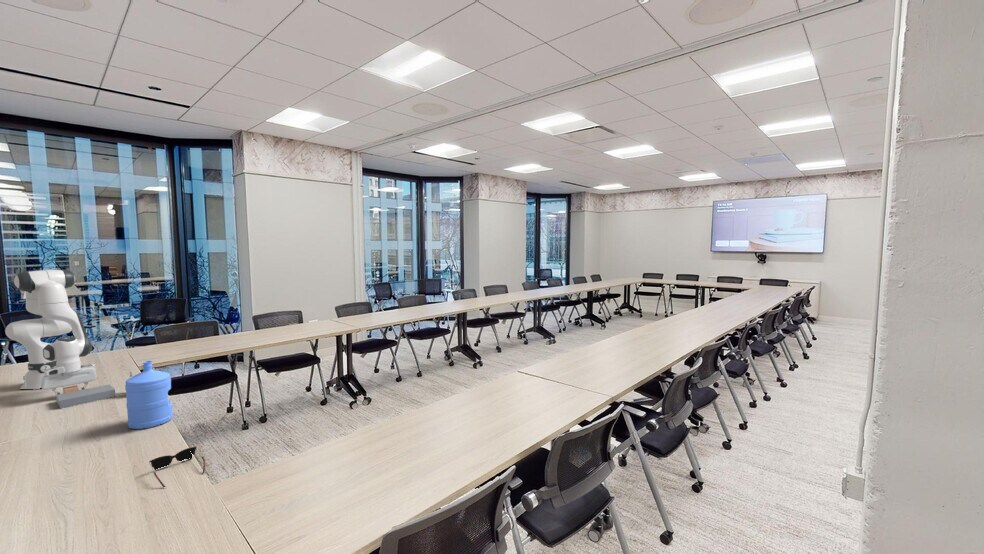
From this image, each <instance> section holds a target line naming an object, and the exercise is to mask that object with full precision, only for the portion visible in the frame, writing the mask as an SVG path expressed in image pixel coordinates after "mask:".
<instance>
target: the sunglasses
mask: <svg viewBox="0 0 984 554" xmlns="http://www.w3.org/2000/svg"><path fill="white" fill-rule="evenodd" d="M190 451H191V452H190ZM196 451H197V452H198V454H199V455H200V457H201V459H202V460H203V469H202V473H203V472H204V473H205V469H206V459H205V457H204V456H203V455H202V453H201V452H200V451H199V449H198V447H197V446H192V447H189V448H185V449H183V450H180V451H178V452H177V453H175V454H174V455H171V454H170V455H162V456H159V457H155V458H153V459H151V460H149V461H148V463H149V465H150V467H151V469H152V472H153V475H154V477H155V478H156V479H157V481H158V482H159V483H160V485H161V487H162V488H163V487H166V485H165V484H164V483H163V482H162V480H161V479H160V478H159V476H158V475H157V472H155V471H156V469H158V468H161V467H164V466H167V465H169V466H170V465H171V464H172V463H173V462H172V461H173V459H174V458H175V460H177V461H178V462H179V461H182V460H184V459H189V458H190V459H191V460H192V459H193V458H192V454H193V455H196ZM191 453H192V454H191Z"/></svg>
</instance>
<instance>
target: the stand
mask: <svg viewBox="0 0 984 554" xmlns="http://www.w3.org/2000/svg"><path fill="white" fill-rule="evenodd" d="M78 390H79V391H73V392H68V393H60V394H58V395H55V402H56V403H55V404H57V406H58V407H59V409H60V410H61V408H62V409H65V408H71V407H74V405H75V406H80V405H83V404H87V403H88V402H89V403H94V402H98V401H102V400H101V399H103V400H106V399H105V398H107V399H110V397H112V398H115V397H116V389H115V388H114V387H113V386H112V385H111V384H103V385H101V386H100V385H99V386H95V387H94V386H93V387H89V388H86V389H84V390H81V389H78ZM114 396H115V397H114ZM97 400H98V401H97ZM93 401H94V402H93ZM89 403H88V404H89ZM79 404H80V405H79ZM70 406H71V407H70Z"/></svg>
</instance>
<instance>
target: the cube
mask: <svg viewBox="0 0 984 554" xmlns="http://www.w3.org/2000/svg"><path fill="white" fill-rule="evenodd" d="M79 390H80V389H79V386H78V384H75V385H70V386H64V387H63V388H62V391H63V393H68V392H73V391H79ZM63 393H62V394H63Z"/></svg>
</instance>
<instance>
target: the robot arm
mask: <svg viewBox="0 0 984 554" xmlns="http://www.w3.org/2000/svg"><path fill="white" fill-rule="evenodd" d="M75 281H76V276H75V274H74V273H73V272H72V271H71V270H69V269H43V270H41V269H40V270H32V271H31V270H29V271H28V270H27V271H21V272H18V273H17V274H15V276H14V280H13V283H14V286H15V287H16V289H17V290H20V291H21V292H25V309H26V311H27V312H28V313H30V314H34V315H37V316H41V317H40V318H33V319H31V318H30V319H22V320H18V321H13V322H10V323H9V324H8V325H6V327H5V329H4V332H5V335H6V336H7V338H9V339H10V340H12V341H15V342H16V343H19V344H21V345H22V346H23V347H24V349H25V350H26V352H27V357H28V359H27V360H28V363H27V370H28V371H27V372H26V373H24V375H23V377H22V379H23V384H22V385H21V387H20V389H33V390H40V388H42V390H44V391H47V390H51V391H52V392H53V393H55V396H56V395H58V394H61V392H60V391H57V389H58V388H62V387H63V388H65V387H70V386H75V385H79V384H84V385H83V386H82V387H81V388H80V390H84V389H87V386H88V385H89V382H94V381H96V380H97V379H98V376H97V372H96V371H97V370H98V367H97V365H96V364H93V363H89V364H83V365H82V362H81V358H82V357H87V356H88V355H89V354H90V353H91V352H92V351H93V345H92V343H91V340H90V339H89V337H88V334H87V331H86V328H85V326H84V323H83V320H82V318H81V316H80V314H79V312H78V311H77V310H74V309H73V308H72V307H71V306H70V304H69V298H68V292H67V290H66V289H68V288H72V287H73V286H74V285H75ZM70 332H72V334H73V336H62V337H59V336H61V335H66V334H69V333H70ZM56 336H58V338H57V339H55V341H54V342H52V343H49V342H44V341H41V339H42V338H49V337H56ZM20 389H19V390H20Z"/></svg>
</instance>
